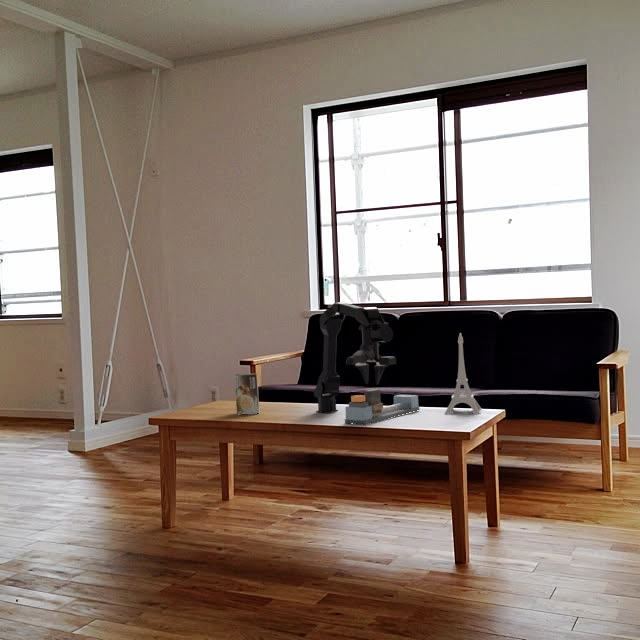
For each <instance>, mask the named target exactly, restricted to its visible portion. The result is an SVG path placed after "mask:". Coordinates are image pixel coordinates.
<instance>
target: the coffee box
mask: <svg viewBox="0 0 640 640" xmlns="http://www.w3.org/2000/svg"><path fill="white" fill-rule="evenodd" d="M234 386H235V388H234V389H235V404H236V405H235V406H236V415H237V414H248V415H258V414H257V413H259V414H260V399H259V385H258V373H239V374H237V373H236V374H234Z"/></svg>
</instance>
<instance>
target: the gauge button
mask: <svg viewBox="0 0 640 640" xmlns="http://www.w3.org/2000/svg"><path fill="white" fill-rule="evenodd" d="M350 400H351V401H350V402H363V401H364V402H365V395H364V394H363V395H362V394H359V395H358V394H356V395H350Z"/></svg>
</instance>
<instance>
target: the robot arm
mask: <svg viewBox="0 0 640 640" xmlns="http://www.w3.org/2000/svg"><path fill="white" fill-rule="evenodd" d="M346 316H349V317H353V318H355V319H356V321H358V322H359V323H361V324H360V325H359V327H358V330H361V335H362V337H361V339H362V344H360V346H359V350H357V351H356V352H354V353H353V354H352V356H348V357H346V360H345V362H346V366H349V365H350V366H353V365H354V368H356V369H358V370H359V373H360V374H361V376H362V379H363V381H364V383H365V385H368V384H369V379H370V378H369V375H370V373H369V372H370V364H376V365H373V369H374V375H375V376H374V377H375V385H379V384H380V381H381V379H382V376H383V373H384V372H385V370H386V368H387V367H389V366H393V365H396V364H397V359H396V357H395V356H394V355H393V356H390V355H389V356H388V355H387V356H382V355H381V354H379V348H380V347H381V343H390V342H391V341H392V340H393V338H394V332H393V329H392V327H390V326H389V322H385V319H384V317H383V316H382V314H381V312H380V311H379V308H378V307H376V306H371V307H368V306H367V307H361V306H358V305H355V304H351V303H347V302H345V301H340V302H339V301H337V302H334V303H333V304H332V305H331V306H330V307H329V308H327V309H326V310H324V311H323V313H322V314H321V315H320V317H319V327H320V330H321V332H322V334H323V356H322V358H323V361H322V362H323V363H322V371H321V373H320V375H319V376H318V380H317V384H316V387H315V389H314V390H313V396H314V398H317V407H318V408H317V409H318V410H315V412H316V413H325V414H326V413H327V414H331V413H333V412H338V411H339V409H337V400H336V397H337V396H339V393H340V388H341V377H340V375H338V373H337V372H336V371H337V370H336V367H337V362H336V361H337V359H336V358H337V336H338V334H339V332H340V331H341V329H342V323H343V321H344V320H345V318H346Z"/></svg>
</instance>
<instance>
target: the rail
mask: <svg viewBox="0 0 640 640" xmlns="http://www.w3.org/2000/svg"><path fill="white" fill-rule="evenodd" d="M344 409H345V419H344V424H346V423H353V424H352V425H359V424H364V425H363V426H367V425H371V424H374V422H375V423H378V422H377V421H379V422H382V421H381V420H383V421H385V420H384V419H387V420H389V419H388V418H391V417H394V416H398V415H402V414H406V413H409V412H413V411H417V410H420V411H421V409H420V406H419V396H418V395H413V394H412V395H411V394H397V395H394V396H393V404H392V405H386V406H383V409H382V413H378V414H374V415H372V406H368V402H365V401H363V402H351V401H350V402H348V405H346V406H345V408H344ZM406 415H407V414H406ZM402 416H403V415H402ZM398 417H399V416H398ZM394 418H395V417H394ZM391 419H392V418H391ZM370 423H371V424H370ZM366 424H367V425H366Z"/></svg>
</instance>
